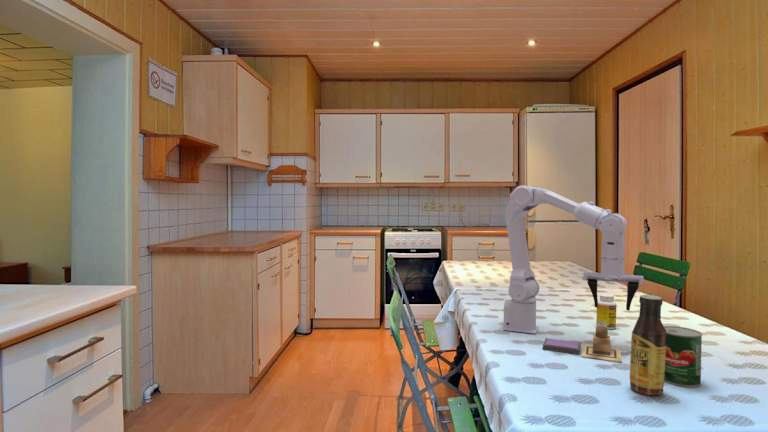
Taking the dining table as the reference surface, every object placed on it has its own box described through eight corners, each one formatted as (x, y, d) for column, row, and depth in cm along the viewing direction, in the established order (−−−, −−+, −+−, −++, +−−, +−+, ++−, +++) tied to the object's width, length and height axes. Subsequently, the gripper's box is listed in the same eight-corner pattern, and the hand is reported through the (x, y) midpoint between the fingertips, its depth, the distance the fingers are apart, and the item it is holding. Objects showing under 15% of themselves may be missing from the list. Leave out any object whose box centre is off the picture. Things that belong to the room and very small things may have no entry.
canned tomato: (694, 376, 103) (695, 327, 102) (706, 389, 95) (707, 337, 95) (654, 371, 105) (655, 324, 105) (663, 384, 98) (664, 333, 97)
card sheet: (581, 357, 115) (581, 355, 115) (582, 345, 124) (582, 343, 124) (621, 362, 111) (621, 361, 111) (619, 349, 121) (619, 348, 121)
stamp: (592, 353, 117) (593, 328, 117) (592, 348, 120) (593, 324, 120) (610, 355, 115) (610, 330, 115) (609, 350, 119) (610, 326, 118)
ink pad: (542, 349, 120) (542, 344, 120) (545, 342, 127) (545, 337, 127) (579, 354, 117) (579, 349, 117) (580, 346, 123) (580, 341, 123)
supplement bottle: (609, 330, 138) (610, 297, 138) (592, 326, 143) (593, 294, 143) (619, 328, 141) (620, 295, 141) (602, 324, 146) (603, 292, 146)
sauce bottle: (623, 385, 97) (624, 293, 96) (650, 384, 98) (652, 292, 97) (642, 398, 91) (645, 299, 90) (672, 397, 91) (674, 299, 90)
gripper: (583, 258, 122) (582, 308, 123) (644, 261, 116) (643, 314, 117) (584, 255, 129) (583, 303, 129) (642, 258, 123) (641, 308, 123)
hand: (611, 308), depth 123 cm, fingers open, 7 cm apart
